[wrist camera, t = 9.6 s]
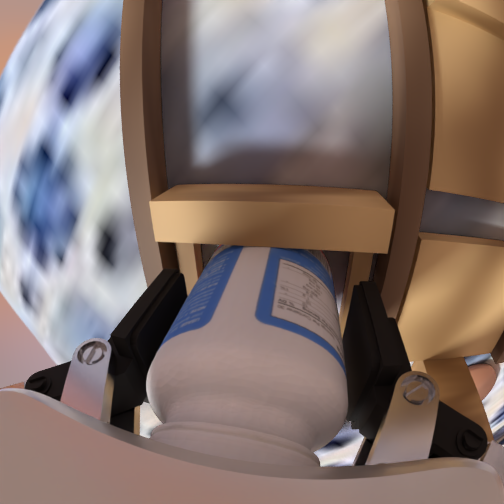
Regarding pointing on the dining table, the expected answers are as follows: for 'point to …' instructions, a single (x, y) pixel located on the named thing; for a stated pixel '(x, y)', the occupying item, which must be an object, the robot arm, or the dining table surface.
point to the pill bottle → (253, 360)
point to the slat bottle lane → (274, 223)
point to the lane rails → (403, 122)
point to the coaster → (483, 378)
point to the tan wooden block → (453, 314)
